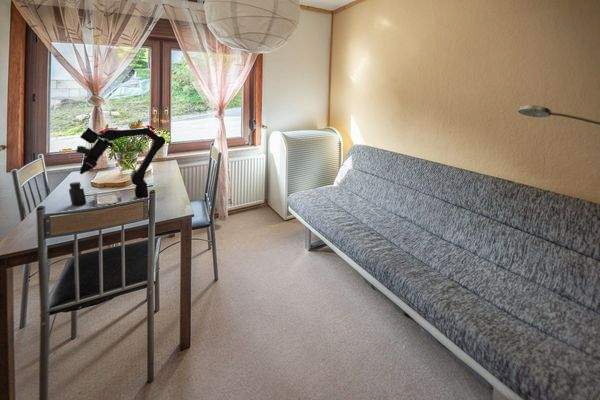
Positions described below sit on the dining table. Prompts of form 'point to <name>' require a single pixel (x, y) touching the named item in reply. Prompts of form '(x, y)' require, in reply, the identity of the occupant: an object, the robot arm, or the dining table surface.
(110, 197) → the track
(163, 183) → the dining table surface
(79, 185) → the supplement bottle
